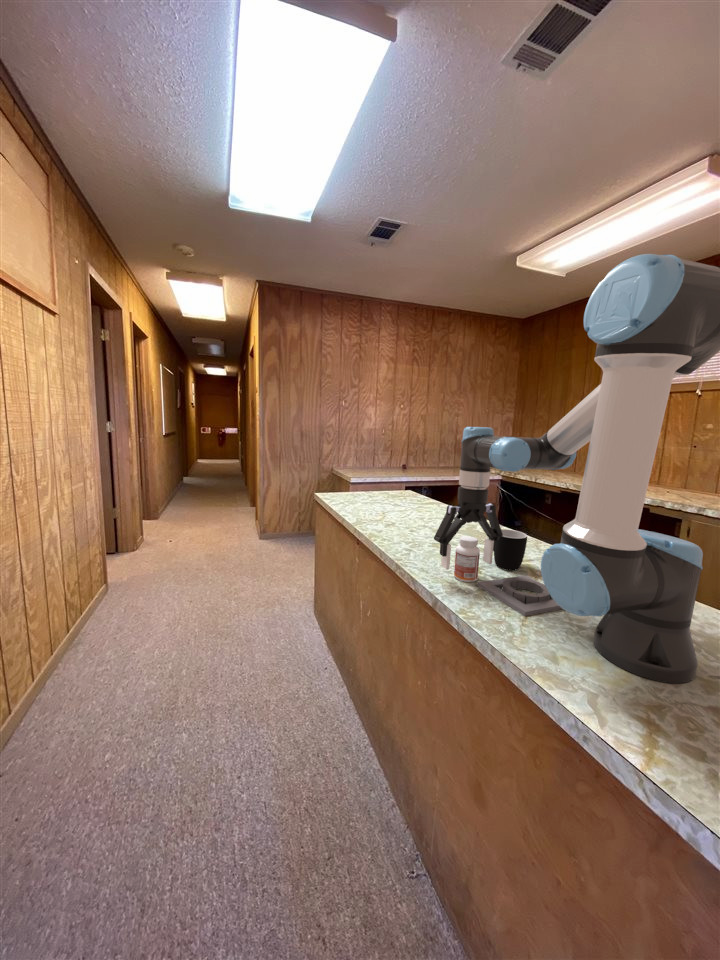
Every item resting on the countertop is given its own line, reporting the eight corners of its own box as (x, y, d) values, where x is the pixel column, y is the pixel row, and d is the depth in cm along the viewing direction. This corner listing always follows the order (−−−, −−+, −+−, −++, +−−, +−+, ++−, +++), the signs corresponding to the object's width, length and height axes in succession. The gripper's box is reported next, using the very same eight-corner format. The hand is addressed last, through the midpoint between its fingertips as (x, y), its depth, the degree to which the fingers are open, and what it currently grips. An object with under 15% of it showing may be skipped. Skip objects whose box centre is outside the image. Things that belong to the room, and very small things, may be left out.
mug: (529, 573, 107) (533, 538, 106) (497, 572, 107) (501, 537, 105) (512, 558, 119) (515, 526, 117) (483, 556, 119) (486, 525, 117)
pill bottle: (462, 571, 106) (466, 533, 105) (482, 579, 102) (485, 539, 100) (449, 576, 102) (452, 537, 101) (468, 584, 98) (471, 543, 96)
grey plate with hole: (577, 605, 88) (578, 597, 88) (524, 616, 83) (525, 606, 82) (525, 578, 103) (526, 571, 103) (477, 585, 97) (478, 577, 97)
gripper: (501, 483, 106) (494, 555, 109) (424, 485, 97) (418, 564, 100) (521, 488, 99) (513, 565, 102) (440, 491, 90) (434, 575, 93)
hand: (466, 564), depth 101 cm, fingers open, 13 cm apart
